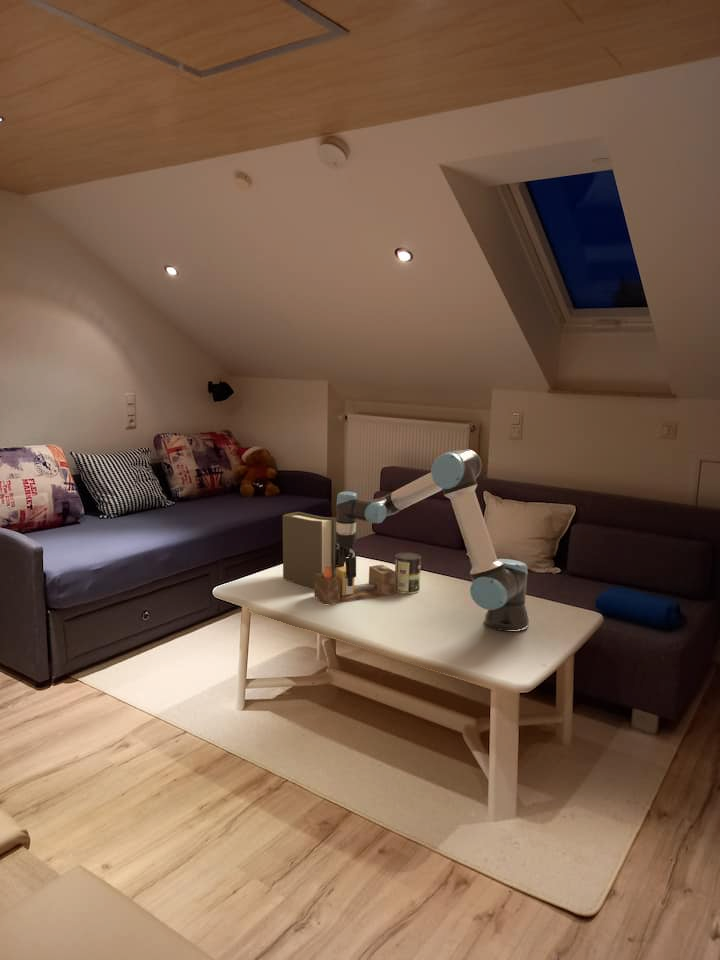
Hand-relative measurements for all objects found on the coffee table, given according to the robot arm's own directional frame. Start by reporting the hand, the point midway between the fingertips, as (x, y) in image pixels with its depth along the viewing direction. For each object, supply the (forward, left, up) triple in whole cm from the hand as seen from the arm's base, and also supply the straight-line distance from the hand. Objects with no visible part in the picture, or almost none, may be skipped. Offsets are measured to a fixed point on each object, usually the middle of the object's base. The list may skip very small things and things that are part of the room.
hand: (344, 590), depth 273 cm
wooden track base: (0, -5, -2) cm, 5 cm away
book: (+21, +6, -3) cm, 22 cm away
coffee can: (-3, -27, -3) cm, 27 cm away
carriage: (0, 0, -1) cm, 1 cm away
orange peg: (0, +7, +4) cm, 8 cm away
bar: (0, -5, -1) cm, 5 cm away
